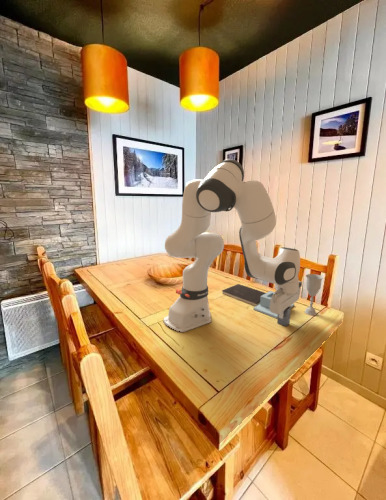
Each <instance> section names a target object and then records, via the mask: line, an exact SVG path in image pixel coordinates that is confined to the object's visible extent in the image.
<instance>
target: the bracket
mask: <svg viewBox="0 0 386 500" xmlns="http://www.w3.org/2000/svg"><path fill="white" fill-rule="evenodd" d="M291 310H292V308H291V307H290V306H289V307H288V308H286V309H285V310H284V312H283V313H284V314H285V316H284V318H283V319H281V318H279V314H278V318H277V322H276V323H277V324H278V325H281V326H283V327H287V326H289V325H290V324H291V323H290V322H291V312H292V311H291Z"/></svg>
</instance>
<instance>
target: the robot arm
mask: <svg viewBox="0 0 386 500" xmlns="http://www.w3.org/2000/svg"><path fill="white" fill-rule="evenodd" d="M244 170H245V169H244V168H243V166H242V164H241V163H240V162H239V161H238V160H235V159H231V158H230V159H224V160H223V161H220V162H219V163H218V164H216V166H215V167H214V168H212V169H211V170H210V171H209V172H208V174H207V175H206V176H205V177H204V179H192V180H190V181H188V182H186V185H185V187H184V191H183V194H182V195H183V196H182V203H181V205H182V206H181V221H180V225H179V226H178V228H177V229H176V230H175V231H174V232H173V233H170V234H169V235H168V236H167V238H166V239H165V242H164V250H165V252H166V253H167V255H168V256H169V257H173V258H179V259H186V258H188V259H190V258H191V259H192V258H195V260H194V261H193V262H192V263H190V264H189V265H187V266H185V268H184V269H183V270H182V287H181V289H180V288H177V289H175V294H177V295H179V297H177V299H176V300H175V301H174V303H172V305H171V306H170V307H169V309H168V315H167V316H165V317H163V323H164V325H166V326H167V327H168V326H169V327H170V328H169V327H168V328H169V329H171V328H172V329H171V330H173V329H174V330H173V331H175V330H176V332H179V331H180V332H179V333H184V332H188V331H191V330H193V329H196V328H199V327H201V326H204V325H207V324H210V323H212V318H211V317H212V314H211V311H210V306H209V305H210V304H209V303H210V302H209V297H208V296H209V286H208V274H209V269H210V266H211V264H212V263H213V262H214V260H215V259H216V258H217V257H218V256H220V255H221V254H222V253H223V251H224V248H225V241H224V239H223V237H222V236H221V235H220V234H219V233H217V232H211V231H207V230H208V229H209V227H210V224H211V218H212V217H211V216H212V213H220V212H230V211H232V209H235V210H236V212H237V215H238V217H239V220H240V223H241V226H240V228H239V231H238V233H239V235H238V237H239V241H240V246H241V250H242V251H241V252H242V254H243V259H244V271H245V273H246V275H247V276H248V277H249V278H252V279H256V280H258V279H259V280H261V281H263V282H267V283H270V284H273V285H274V289H275V290H276V291H274V292H275V293H274V294H273V295H272V297H271V301H270V312H272V313H274V314H277V315H278V314H279V318H281V319H283V318H284V316H285V314H284V313H283V312H284V310H285V309H286V308H288V307H289V306H290V307H291V305H292V304H295V303H296V302H297V301H299V299H300V294H301V287H302V286H303V281H300V280H299V273H300V268H301V255H300V251H299V250H298V249H296V248H290V247H286V246H284V247H282V246H281V247H280V248H279V250H278V252H277V255H276V256H275V257H269V256H265V255H262V254H260V252H258V246H257V242H256V241H258V240H262V239H264V238H266V237H267V236H269V235H270V234H271V233H272V232H273V231H274V229H275V227H276V225H277V217H276V211H275V209H274V207H273V202H272V200H271V197H270V195H269V193H268V191H267V188H266V187H265V185H264V184H263V183H262V182H260V181H258V180H248V181H244V178H245V171H244Z"/></svg>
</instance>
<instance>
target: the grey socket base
mask: <svg viewBox="0 0 386 500" xmlns="http://www.w3.org/2000/svg"><path fill="white" fill-rule="evenodd" d="M265 293H266V294H264V295H262V296H261V298H260V304H259V305H257V306H254V307H253V310H254V311H256V312H258V313H260V314H261V313H262V314H264V315H266V316H269V317H272V318H274V319H278V315H277V314H274V313H272V312H270V301H271V297H272V295H273V294H274V293H275V291H271V290H270V291H268V292H265ZM294 306H295V303H293V304H292V305H291V309H292V308H293V307H294Z"/></svg>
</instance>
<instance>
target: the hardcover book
mask: <svg viewBox="0 0 386 500" xmlns="http://www.w3.org/2000/svg"><path fill="white" fill-rule="evenodd" d="M221 292H222V294H224V295H226V296H229V297H231V298H233V299H236V300H239V301H241V302H244V303H246V304H249V305H251V306H254V307H256V306H257V305H259V304H260V298H261V296H262V295H264V294H266V293H267V292H264V291H261V290H259V289H255V288H252V287H249V286H246V285H242V284H240V283H238V284H235V285H232V286H229V287H227V288H225V289H222V290H221Z"/></svg>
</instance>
